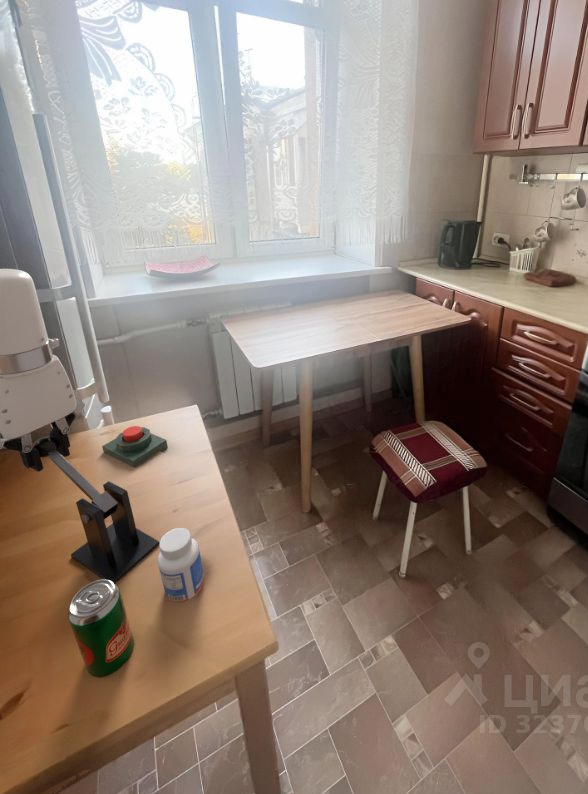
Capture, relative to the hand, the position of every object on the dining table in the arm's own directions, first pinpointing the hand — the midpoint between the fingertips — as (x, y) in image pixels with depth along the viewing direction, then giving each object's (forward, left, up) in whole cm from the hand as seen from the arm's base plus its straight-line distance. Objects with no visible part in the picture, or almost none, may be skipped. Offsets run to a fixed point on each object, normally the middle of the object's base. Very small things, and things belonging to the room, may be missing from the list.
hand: (49, 459), depth 63 cm
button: (-7, +18, -10) cm, 22 cm away
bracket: (+13, 0, -14) cm, 19 cm away
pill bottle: (+27, +1, -14) cm, 30 cm away
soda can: (+27, -10, -14) cm, 32 cm away
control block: (-7, +18, -14) cm, 24 cm away
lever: (+6, 0, -2) cm, 6 cm away
